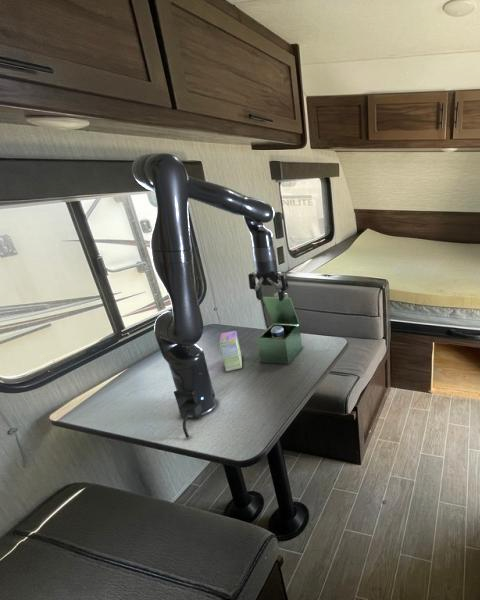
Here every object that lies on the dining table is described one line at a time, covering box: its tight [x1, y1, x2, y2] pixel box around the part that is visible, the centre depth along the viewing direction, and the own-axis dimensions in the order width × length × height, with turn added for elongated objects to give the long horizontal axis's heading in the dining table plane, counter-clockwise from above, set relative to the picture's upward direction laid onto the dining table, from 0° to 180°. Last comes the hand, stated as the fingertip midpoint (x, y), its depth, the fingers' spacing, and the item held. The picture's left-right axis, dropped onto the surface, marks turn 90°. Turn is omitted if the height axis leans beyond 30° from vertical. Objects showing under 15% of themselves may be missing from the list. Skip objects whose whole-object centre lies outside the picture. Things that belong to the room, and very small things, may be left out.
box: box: [218, 330, 243, 372], centre depth 126 cm, size 10×6×12 cm, turn 25°
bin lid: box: [261, 292, 300, 325], centre depth 133 cm, size 14×12×5 cm
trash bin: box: [256, 323, 303, 365], centre depth 132 cm, size 14×12×11 cm
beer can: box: [271, 326, 285, 339], centre depth 131 cm, size 5×5×12 cm
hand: (270, 299), depth 123 cm, fingers open, 8 cm apart
